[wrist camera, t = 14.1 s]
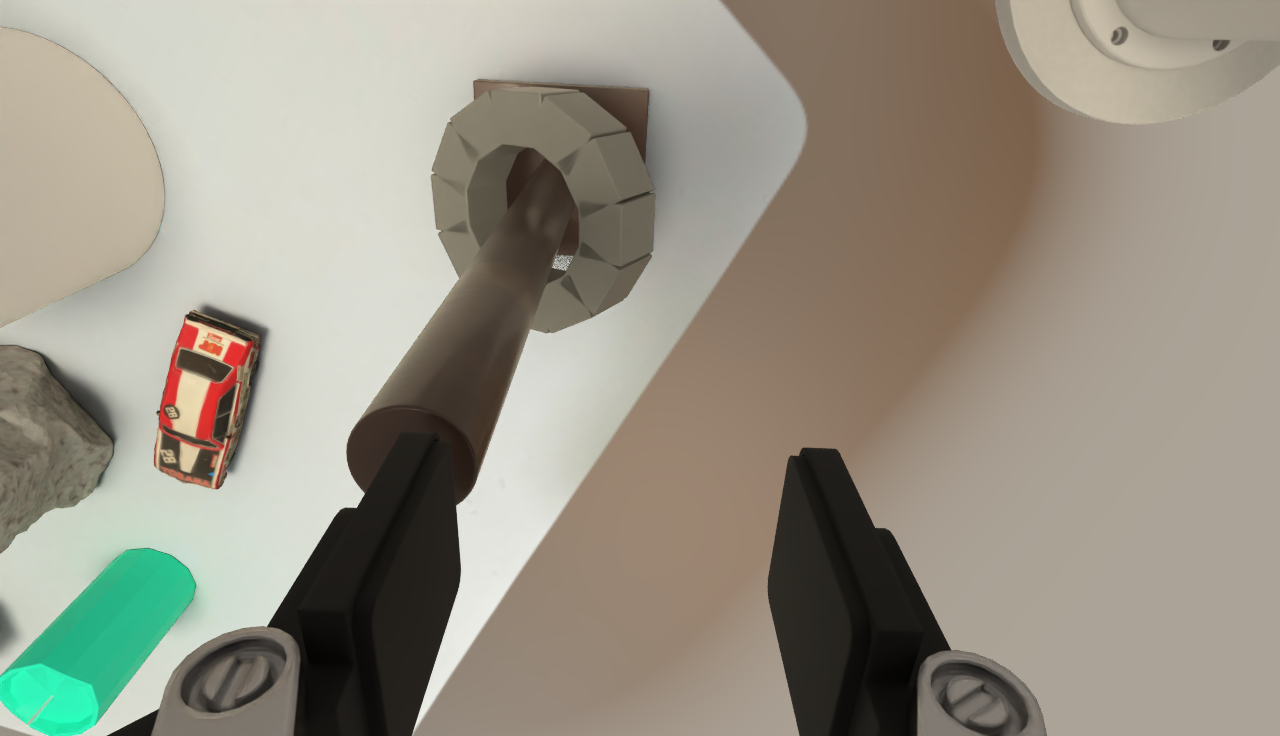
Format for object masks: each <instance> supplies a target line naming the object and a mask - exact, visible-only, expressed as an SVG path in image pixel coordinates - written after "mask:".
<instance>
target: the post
mask: <svg viewBox="0 0 1280 736" xmlns="http://www.w3.org/2000/svg"><path fill="white" fill-rule="evenodd" d="M473 85H474V100H475V99H477V98H478V97H479V96H481V95H482V94H483V93H485V92H486V91H491V90H492V89H504V88H518V87H532V86H533V87H546V88H559V89H572V90H579V92H580V93H585V94H586V95H587V96H589V97H590V98H591V99H592V100H593V101H595V102H596V103H597V104H598V105H600V106H601V107H602V108H603V109H604V110H606V111H607V112H608V113H609V114H611V115H612V116H613V117H614V118H615V119H617V120H618V121H619V122H620V123H622V124H623V125H624V126H625V127H626V131H625V133H626V132H631V134H632V137H633V139H634V141H635V144H636V146H637V148H638V151H639V153H640V155H641V158H642V160H643V162H644V165H645V155H646V136H647V117H648V98H649V89H648V88H632V87H613V86H594V85H576V84H557V83H538V82H520V81H501V80H482V79H478V80H475V81H473ZM506 191H507V212H506V213H505V215H504V216H503V218H502V219H501V221H500V222H499V223H498V225H497V226H496V228H495V229H494V230H493V232H492V233H491V235H490V236H489V237H488V239H487V240H486V242H485V243H484V245H483V246H482V247H481V249H480V250H479V252H478V253H477V254H476V256H475V257H474V259H473V260H472V261H471V263H470V264H469V266H468V267H467V269H466V270H465V271H464V273H463V274H462V276H461V277H460V278H459V280H458V281H457V283H456V284H455V285H454V287H453V288H452V290H451V291H450V293H449V294H448V295H447V297H446V298H445V300H444V301H443V302H442V304H441V305H440V307H439V308H438V309H437V311H436V312H435V314H434V315H433V317H432V318H431V319H430V321H429V322H428V324H427V325H426V326H425V328H424V329H423V331H422V332H421V333H420V335H419V336H418V338H417V339H416V341H415V342H414V343H413V345H412V346H411V348H410V349H409V350H408V352H407V353H406V355H405V356H404V357H403V359H402V360H401V362H400V363H399V365H398V366H397V367H396V369H395V370H394V372H393V373H392V374H391V376H390V377H389V379H388V380H387V381H386V383H385V384H384V386H383V387H382V389H381V390H380V391H379V393H378V394H377V396H376V397H375V398H374V400H373V401H372V403H371V404H370V406H369V407H368V408H367V410H366V411H365V413H364V414H363V415H362V417H361V418H360V420H359V421H358V422H357V424H356V425H355V427H354V428H353V430H352V431H351V434H350V436H349V439H348V443H347V451H346V453H347V462H348V467H349V470H350V472H351V475H352V477H353V478H354V480H355V482H356V483H357V484H358V486H359V487H360V488H361V489H362V490H363V492H364V493H366V491H367V490H368V488H369V486H370V485H371V483H372V481H373V479H374V478H375V476H376V474H377V473H378V471H379V469H380V467H381V466H382V464H383V462H384V461H385V459H386V457H387V455H388V454H389V452H390V450H391V449H392V447H393V445H394V443H395V442H396V440H397V438H398V437H399V435H400V434H401V432H403V431H413V432H437V433H438V434H439V437H440V441H446V442H450V444H451V449H452V461H453V474H454V486H455V499H456V505H457V504H459V503H460V502H462V501H463V500H464V499H465V498H466V497H467V496H468V495H469V493H470V492H471V491H472V489H473V487H474V485H475V483H476V480H477V477H478V474H479V472H480V469H481V466H482V463H483V460H484V458H485V455H486V452H487V449H488V446H489V444H490V441H491V438H492V435H493V432H494V429H495V427H496V424H497V421H498V418H499V415H500V413H501V410H502V407H503V404H504V401H505V398H506V396H507V393H508V390H509V387H510V384H511V382H512V379H513V376H514V373H515V370H516V368H517V365H518V362H519V359H520V356H521V353H522V351H523V348H524V345H525V342H526V339H527V337H528V334H529V331H530V328H531V325H532V322H533V320H534V317H535V314H536V311H537V308H538V306H539V303H540V300H541V297H542V294H543V292H544V289H545V286H546V283H547V280H548V277H549V275H550V272H551V269H552V266H553V263H554V261H555V258H556V255H567V256H574V255H575V253H576V251H577V249H578V248H579V210H578V208H577V206H576V204H575V202H574V199H573V197H572V195H571V193H570V190H569V188H568V186H567V184H566V182H565V179H564V177H563V175H562V173H561V171H560V170H559V169H558V168H556V167H555V166H554V165H553V164H552V163H551V162H549V161H548V160H547V159H546V158H545V157H544V156H542V155H541V154H540V153H539V152H538V151H536V150H535V149H534V148H528V147H527V148H525V149H524V150H522V151H521V152H519V153H518V154H517V156H516V159H515V161H514V163H513V166H512V168H511V171H510V173H509V175H508V178H507V180H506Z"/></svg>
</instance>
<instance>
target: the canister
mask: <svg viewBox="0 0 1280 736" xmlns="http://www.w3.org/2000/svg"><path fill="white" fill-rule="evenodd" d="M163 211H164V183H163V176H162V171H161V167H160V163H159V160H158V157H157V154H156V151H155V149H154V146H153V144H152V142H151V139H150V137H149V135H148V133H147V131H146V129H145V128H144V126H143V124H142V123H141V121H140V119H139V118H138V116H137V115H136V113H135V112H134V110H133V109H132V108H131V106H130V105H129V104H128V102H127V101H126V100H125V99H124V97H123V96H122V95H121V94H120V93H119V92H118V91H117V90H116V88H115V87H114V86H113V85H112V84H111V83H110V82H109V81H108V80H107V79H106V78H104V77H103V76H102V75H101V74H100V73H99V72H98V71H96V70H95V69H94V68H93V67H91V66H90V65H89V64H88V63H86V62H85V61H83V60H82V59H81V58H79V57H78V56H76V55H75V54H73V53H71V52H70V51H68V50H66V49H64V48H63V47H61V46H59V45H57V44H55V43H53V42H51V41H48V40H46V39H44V38H41V37H39V36H36V35H33V34H30V33H27V32H23V31H19V30H15V29H10V28H3V27H0V328H1V327H3V326H5V325H7V324H9V323H11V322H14V321H16V320H18V319H20V318H22V317H24V316H26V315H28V314H31V313H33V312H35V311H37V310H39V309H41V308H43V307H45V306H48V305H50V304H52V303H54V302H56V301H58V300H60V299H62V298H64V297H67V296H69V295H71V294H73V293H75V292H77V291H79V290H81V289H84V288H86V287H88V286H90V285H92V284H94V283H96V282H98V281H101V280H103V279H105V278H107V277H109V276H111V275H113V274H115V273H118V272H120V271H122V270H124V269H126V268H127V267H129V266H130V265H132V264H133V263H135V262H136V261H137V260H138V259H139V258H141V257H142V256H143V255H144V253H145V252H146V251H147V250H148V249H149V247H150V246H151V244H152V243H153V241H154V239H155V237H156V235H157V233H158V231H159V228H160V225H161V221H162V217H163Z"/></svg>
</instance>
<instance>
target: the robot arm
mask: <svg viewBox="0 0 1280 736" xmlns="http://www.w3.org/2000/svg"><path fill="white" fill-rule="evenodd" d="M1070 1H1071V6H1072V10H1073V12H1074V15H1075V17H1076V19H1077V21H1078V23H1079V26H1080V28H1081V30H1082V31H1083V33H1084V34H1085V35H1086V36H1087V38H1088V39H1089V40H1090V41H1091V43H1092V44H1093V45H1094V46H1095V47H1096V48H1097V49H1099V50H1100V51H1101V52H1103V53H1104V54H1105V55H1106V56H1108V57H1109V58H1111V59H1113V60H1115V61H1118V62H1120V63H1123V64H1125V65H1127V66H1131V67H1137V68H1143V69H1150V70H1175V69H1182V68H1189V67H1194V66H1197V65H1200V64H1203V63H1206V62H1209V61H1212V60H1215V59H1217V58H1219V57H1221V56H1223V55H1225V54H1227V53H1229V52H1231V51H1233V50H1235V49H1236V48H1238V47H1240V46H1242V45H1243V44H1244V43H1246V42H1247V41H1248V40H1256V41H1280V0H1070ZM1112 33H1113V38H1112V39H1111V35H1112ZM460 576H461V564H460V551H459V538H458V525H457V512H456V499H455V486H454V474H453V461H452V449H451V444H450V442H446V441H440V437H439V434H438V433H437V432H413V431H403V432H401V434H400V435H399V437H398V438H397V440H396V442H395V443H394V445H393V447H392V449H391V450H390V452H389V454H388V455H387V457H386V459H385V461H384V462H383V464H382V466H381V467H380V469H379V471H378V473H377V474H376V476H375V478H374V479H373V481H372V483H371V485H370V486H369V488H368V490H367V491H366V493H365V495H364V496H363V498H362V500H361V502H360V503H359V505H358V507H357V508H344V509H341V510H340V511H339V512H338V513H337V515H336V516H335V517H334V519H333V521H332V522H331V524H330V525H329V527H328V529H327V530H326V532H325V534H324V535H323V537H322V538H321V540H320V542H319V543H318V545H317V546H316V548H315V550H314V551H313V553H312V555H311V556H310V558H309V559H308V561H307V563H306V564H305V566H304V568H303V569H302V571H301V572H300V574H299V576H298V577H297V579H296V580H295V582H294V584H293V585H292V587H291V589H290V590H289V592H288V593H287V595H286V597H285V598H284V600H283V602H282V603H281V605H280V606H279V608H278V610H277V611H276V613H275V614H274V616H273V618H272V619H271V621H270V623H269V624H268V626H267V627H264V626H261V627H250V628H242V629H239V630H235V631H232V632H228V633H225V634H222V635H220V636H218V637H216V638H214V639H212V640H210V641H208V642H206V643H204V644H203V645H201V646H200V647H199V648H197V649H196V650H195V651H193V652H192V653H191V654H189V655H188V656H187V657H186V658H185V659H184V660H183V661H182V662H181V663H180V664H179V666H178V667H177V668H176V669H175V670H174V671H173V673H172V675H171V677H170V679H169V681H168V683H167V685H166V688H165V691H164V694H163V698H162V701H161V705H160V708H159V709H158V710H156V711H154V712H152V713H150V714H148V715H146V716H144V717H142V718H140V719H138V720H137V721H135V722H133V723H131V724H129V725H127V726H125V727H123V728H121V729H119V730H117V731H115V732H113V733H111V734H109V735H107V736H412V733H413V730H414V727H415V724H416V720H417V717H418V714H419V711H420V708H421V705H422V702H423V698H424V695H425V692H426V689H427V686H428V683H429V680H430V676H431V673H432V670H433V667H434V664H435V661H436V658H437V654H438V651H439V648H440V645H441V642H442V639H443V636H444V633H445V629H446V626H447V623H448V620H449V617H450V614H451V611H452V607H453V604H454V601H455V598H456V595H457V592H458V588H459V583H460ZM768 599H769V604H770V608H771V613H772V617H773V621H774V626H775V630H776V634H777V639H778V643H779V648H780V652H781V656H782V661H783V665H784V669H785V674H786V678H787V682H788V687H789V691H790V695H791V700H792V704H793V708H794V713H795V717H796V722H797V726H798V730H799V735H800V736H1047V734H1046V728H1045V724H1044V719H1043V714H1042V712H1041V709H1040V707H1039V704H1038V702H1037V699H1036V698H1035V696H1034V695H1033V694H1032V692H1031V691H1030V690H1029V688H1028V687H1027V686H1026V685H1025V683H1024V682H1022V681H1021V680H1020V679H1019V678H1018V677H1017V676H1016V675H1014V674H1013V673H1012V672H1011V671H1010V670H1008V669H1007V668H1005V667H1003V666H1001V665H1000V664H998V663H996V662H995V661H993V660H991V659H988V658H986V657H983V656H980V655H977V654H975V653H971V652H964V651H959V650H951V649H950V647H949V645H948V643H947V641H946V639H945V637H944V635H943V633H942V631H941V629H940V627H939V625H938V623H937V621H936V619H935V617H934V615H933V613H932V611H931V609H930V607H929V605H928V603H927V601H926V599H925V597H924V595H923V593H922V591H921V589H920V587H919V585H918V583H917V581H916V579H915V577H914V575H913V573H912V571H911V569H910V567H909V565H908V563H907V561H906V559H905V557H904V555H903V553H902V551H901V550H900V547H899V545H898V543H897V541H896V539H895V538H894V536H893V535H892V533H891V532H890V531H889V530H887V529H885V528H875V527H874V525H873V523H872V521H871V518H870V516H869V514H868V512H867V510H866V508H865V506H864V504H863V502H862V500H861V497H860V495H859V493H858V491H857V489H856V487H855V485H854V483H853V481H852V478H851V476H850V474H849V472H848V470H847V468H846V466H845V464H844V462H843V460H842V457H841V455H840V453H839V452H838V450H837V449H825V448H802V449H801V451H800V454H799V456H790V457H789V459H788V464H787V469H786V475H785V481H784V487H783V493H782V499H781V505H780V511H779V517H778V523H777V529H776V535H775V541H774V546H773V553H772V558H771V564H770V571H769V576H768Z"/></svg>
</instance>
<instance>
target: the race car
mask: <svg viewBox="0 0 1280 736" xmlns="http://www.w3.org/2000/svg"><path fill="white" fill-rule="evenodd" d="M260 339H261V336H259V335H257V334H256V333H251V332H250V331H248V330H246V329H242V328H240V327H239V326H237V325H234V324H232V323H229V322H226V321H222V320H220V319H216V318H214V317H211V316H207V315H205V314H202V313H199V312H197V311H196V310H192V311H190V313H189V314H186V316H185V318H184V324H183V327H182V329H181V331H180V334H179V337H178V339H177V341H176V345H175V348H174V351H173V354H172V358H171V363H170V369H169V372H168V376H167V379H166V385H165V389H164V391H163V397H162V401H161V406H160V411H157V415H159V427H158V432H157V439H156V444H155V449H154V450H155V453H154V466H155V467H156V468H157V469H158V470H160V471H161V472H163V473H165V474H167V475H168V476H170V477H174V478H176V479H177V480H179V481H180V482H182V483H190V484H196V485H199V486H203V487H206V488H211V489H219V488H220V487H221V486H222V484H223V483H224V480H225V478H226V476H227V472H226V468H227V467H228V466H229V464H230V462H231V460H232V459H233V456H234V454H235V448H236V445H237V442H238V439H239V436H240V432H241V428H242V424H243V420H244V416H245V411H246V407H247V402H248V398H249V394H250V389H251V385H252V382H251V380H252V378H253V376H254V374H255V373H256V371H257V368H258V363H259V362H258V360H257V356H258V353H259V349H260V344H259V342H260Z"/></svg>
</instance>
